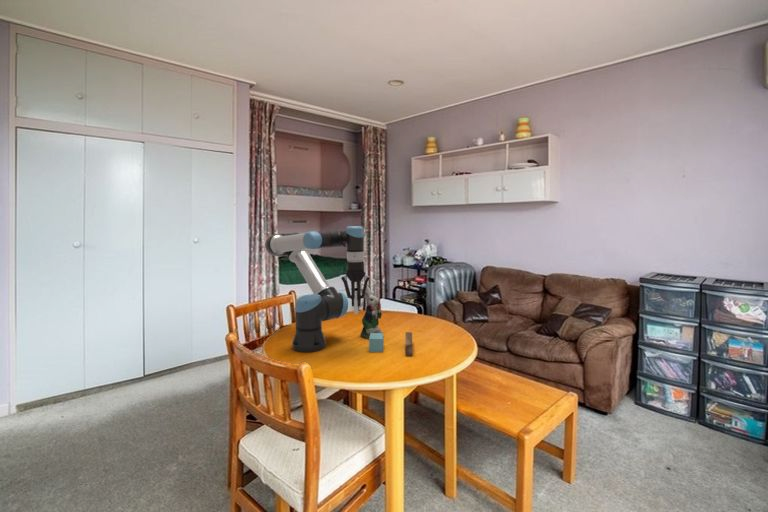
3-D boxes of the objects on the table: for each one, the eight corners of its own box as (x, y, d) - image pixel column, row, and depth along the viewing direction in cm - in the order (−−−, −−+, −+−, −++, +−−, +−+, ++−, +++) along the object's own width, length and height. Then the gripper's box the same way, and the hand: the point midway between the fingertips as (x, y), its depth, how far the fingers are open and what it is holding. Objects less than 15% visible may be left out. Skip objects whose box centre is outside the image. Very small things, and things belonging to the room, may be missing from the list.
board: (405, 355, 168) (405, 344, 168) (405, 342, 186) (405, 332, 186) (412, 356, 168) (412, 344, 167) (412, 342, 186) (412, 332, 185)
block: (369, 352, 174) (369, 338, 173) (370, 345, 183) (370, 332, 182) (382, 352, 173) (382, 339, 173) (383, 345, 182) (383, 333, 182)
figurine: (379, 342, 191) (385, 292, 187) (353, 338, 193) (359, 288, 190) (384, 335, 201) (390, 288, 198) (359, 331, 204) (365, 284, 200)
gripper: (339, 262, 171) (340, 315, 174) (369, 262, 170) (370, 315, 173) (342, 260, 179) (343, 311, 181) (371, 260, 178) (371, 311, 180)
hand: (356, 313), depth 177 cm, fingers closed
